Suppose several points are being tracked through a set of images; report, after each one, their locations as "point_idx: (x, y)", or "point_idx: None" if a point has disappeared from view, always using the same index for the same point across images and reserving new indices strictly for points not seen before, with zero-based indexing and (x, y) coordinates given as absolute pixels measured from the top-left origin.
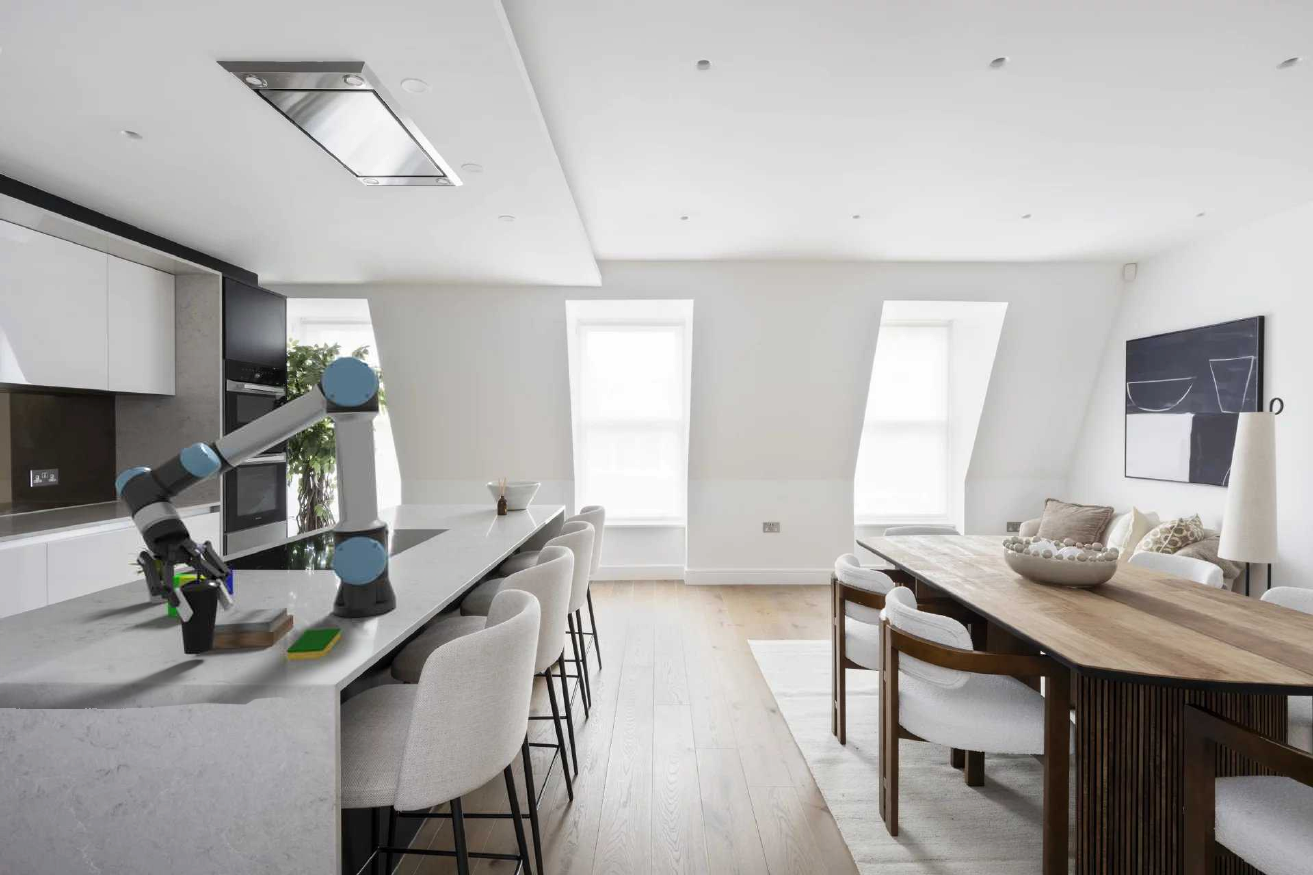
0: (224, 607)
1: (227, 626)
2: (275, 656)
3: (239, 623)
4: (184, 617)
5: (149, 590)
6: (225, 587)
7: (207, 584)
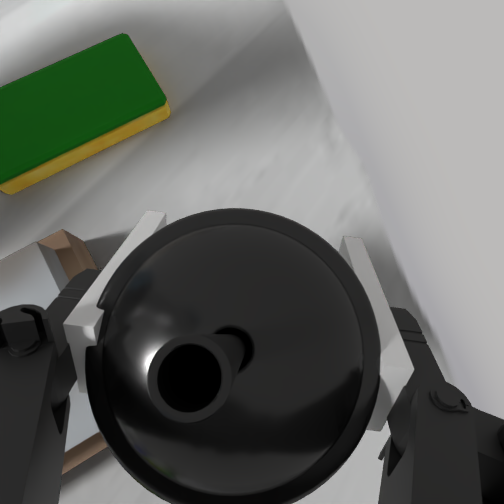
0: None
1: None
2: (159, 159)
3: None
4: None
5: None
6: (84, 291)
7: (243, 236)
